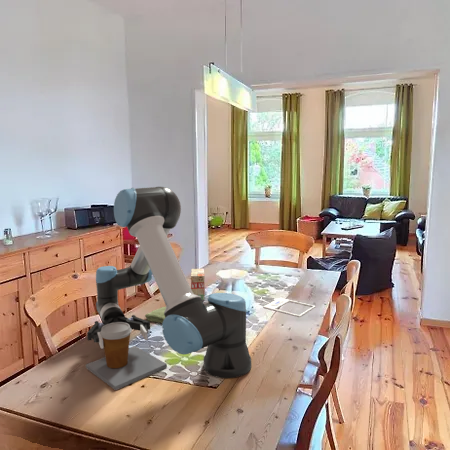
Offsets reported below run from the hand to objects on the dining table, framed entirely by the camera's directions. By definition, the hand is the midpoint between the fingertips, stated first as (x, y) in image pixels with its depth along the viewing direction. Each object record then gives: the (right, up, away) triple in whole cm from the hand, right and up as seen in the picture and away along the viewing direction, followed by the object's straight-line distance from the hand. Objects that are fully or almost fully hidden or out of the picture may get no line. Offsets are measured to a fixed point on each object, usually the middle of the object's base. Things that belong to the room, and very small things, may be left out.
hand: (124, 340), depth 125 cm
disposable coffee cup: (-3, -8, +2) cm, 9 cm away
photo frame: (+60, -1, +53) cm, 80 cm away
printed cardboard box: (+18, +2, +73) cm, 75 cm away
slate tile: (0, -9, +2) cm, 9 cm away
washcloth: (+8, -3, +42) cm, 43 cm away
